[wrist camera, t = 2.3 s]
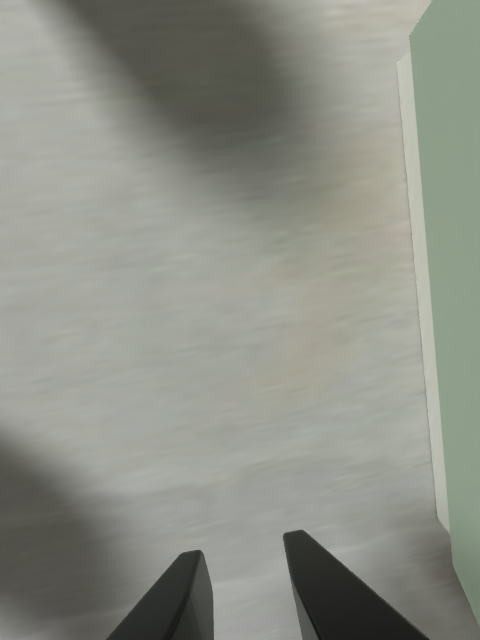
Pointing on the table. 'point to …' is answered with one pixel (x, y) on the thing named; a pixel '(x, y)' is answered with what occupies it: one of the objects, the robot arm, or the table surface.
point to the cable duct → (422, 280)
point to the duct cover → (454, 253)
